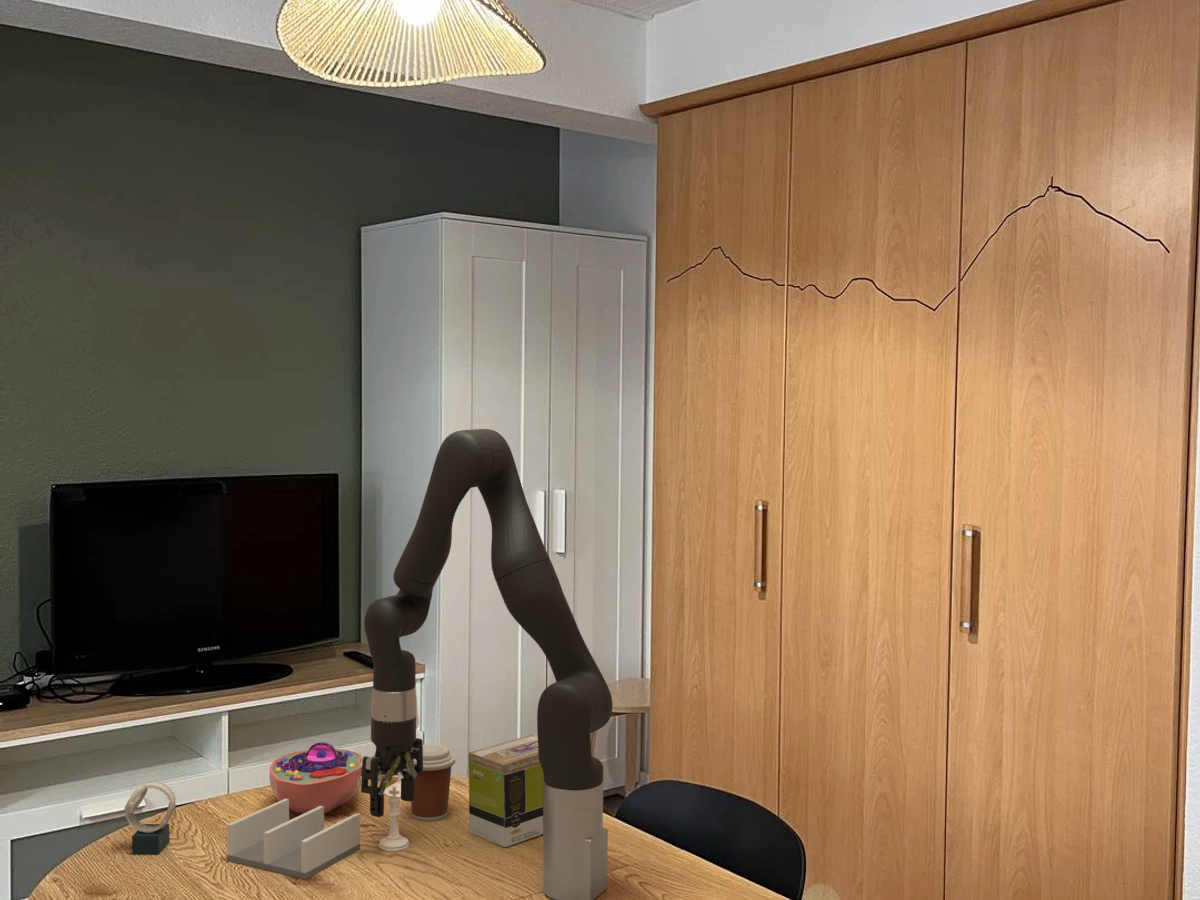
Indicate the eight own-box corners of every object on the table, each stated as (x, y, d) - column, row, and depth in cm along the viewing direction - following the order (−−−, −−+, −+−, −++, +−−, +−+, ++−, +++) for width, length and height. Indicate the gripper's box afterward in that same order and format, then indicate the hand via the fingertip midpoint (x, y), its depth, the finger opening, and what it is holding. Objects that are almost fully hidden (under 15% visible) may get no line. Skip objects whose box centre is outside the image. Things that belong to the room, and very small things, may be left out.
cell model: (248, 824, 215) (248, 761, 214) (296, 787, 234) (296, 729, 234) (339, 831, 212) (339, 767, 211) (380, 793, 231) (380, 735, 231)
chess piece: (402, 852, 203) (402, 793, 202) (374, 849, 204) (374, 791, 203) (413, 841, 208) (413, 783, 207) (385, 839, 209) (385, 781, 208)
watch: (132, 842, 206) (131, 778, 205) (180, 842, 206) (179, 778, 206) (119, 855, 200) (119, 789, 200) (169, 855, 201) (168, 789, 200)
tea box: (531, 812, 222) (532, 732, 222) (569, 827, 215) (570, 744, 214) (466, 833, 212) (467, 749, 211) (504, 849, 205) (505, 763, 204)
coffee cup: (398, 809, 223) (399, 744, 222) (447, 803, 227) (447, 739, 226) (411, 826, 215) (411, 759, 214) (461, 819, 218) (461, 753, 217)
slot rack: (360, 849, 204) (360, 814, 204) (305, 879, 191) (304, 842, 191) (285, 832, 211) (285, 798, 211) (227, 860, 199) (227, 824, 198)
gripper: (386, 727, 197) (385, 825, 198) (436, 706, 209) (434, 799, 210) (349, 720, 200) (348, 817, 201) (400, 700, 213) (399, 791, 214)
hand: (392, 807), depth 206 cm, fingers open, 8 cm apart
